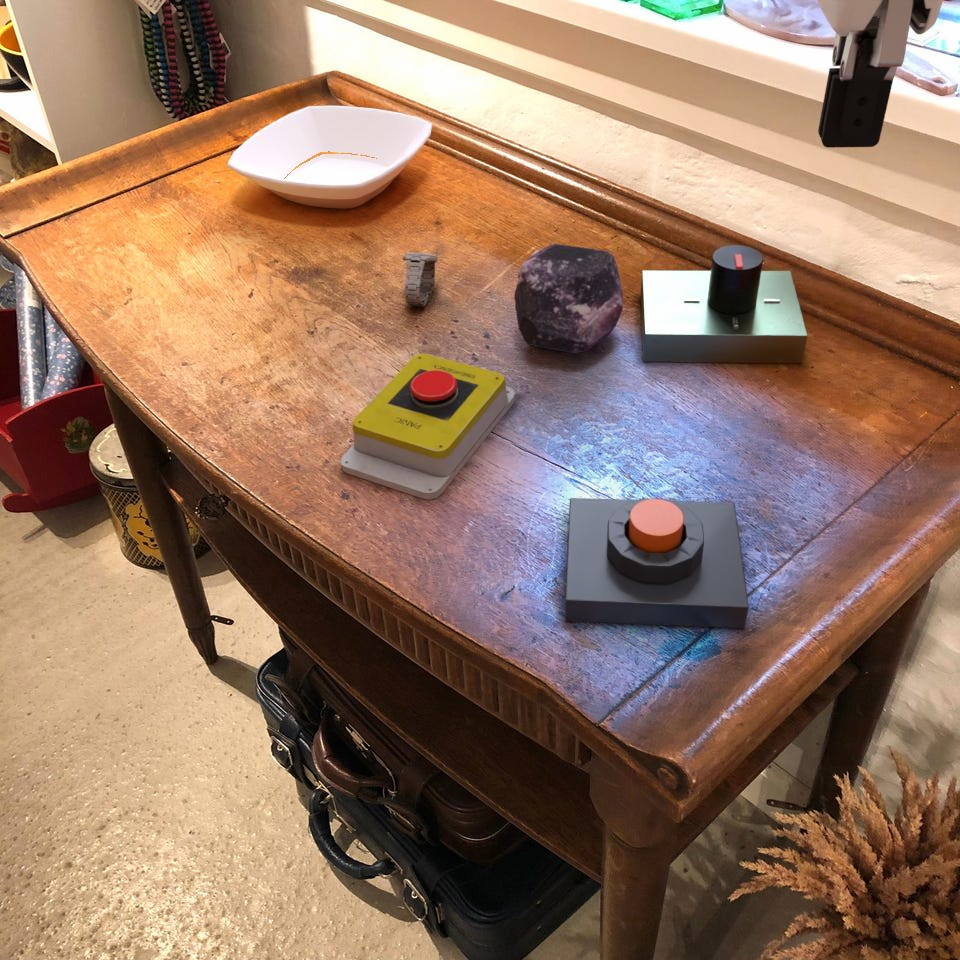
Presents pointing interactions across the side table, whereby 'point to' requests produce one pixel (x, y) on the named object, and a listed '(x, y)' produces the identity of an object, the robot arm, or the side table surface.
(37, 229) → the side table surface
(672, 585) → the button block
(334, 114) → the bowl
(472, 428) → the emergency button
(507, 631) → the side table surface
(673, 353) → the panel
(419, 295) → the wristwatch
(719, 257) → the knob
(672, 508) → the button
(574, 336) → the mineral specimen
